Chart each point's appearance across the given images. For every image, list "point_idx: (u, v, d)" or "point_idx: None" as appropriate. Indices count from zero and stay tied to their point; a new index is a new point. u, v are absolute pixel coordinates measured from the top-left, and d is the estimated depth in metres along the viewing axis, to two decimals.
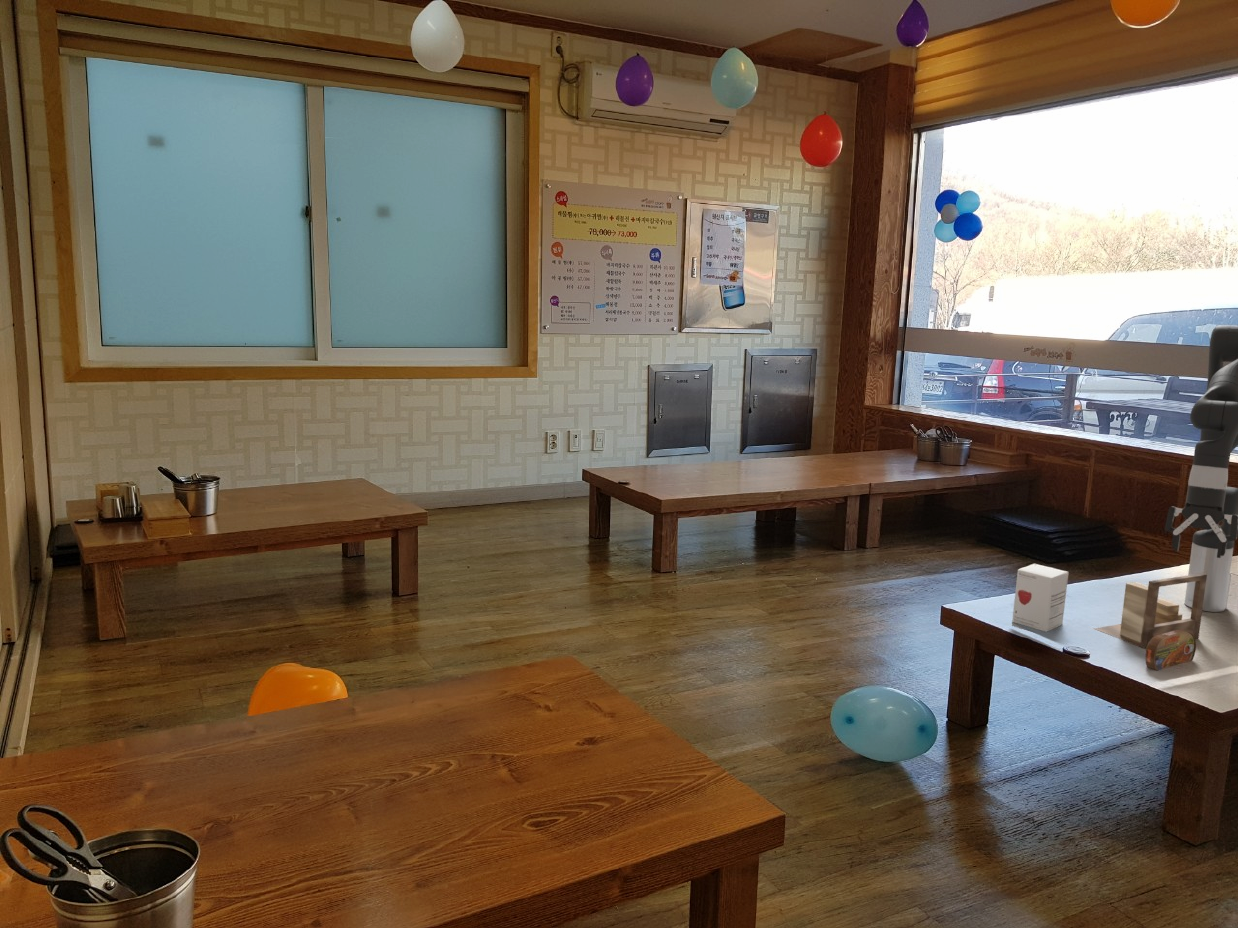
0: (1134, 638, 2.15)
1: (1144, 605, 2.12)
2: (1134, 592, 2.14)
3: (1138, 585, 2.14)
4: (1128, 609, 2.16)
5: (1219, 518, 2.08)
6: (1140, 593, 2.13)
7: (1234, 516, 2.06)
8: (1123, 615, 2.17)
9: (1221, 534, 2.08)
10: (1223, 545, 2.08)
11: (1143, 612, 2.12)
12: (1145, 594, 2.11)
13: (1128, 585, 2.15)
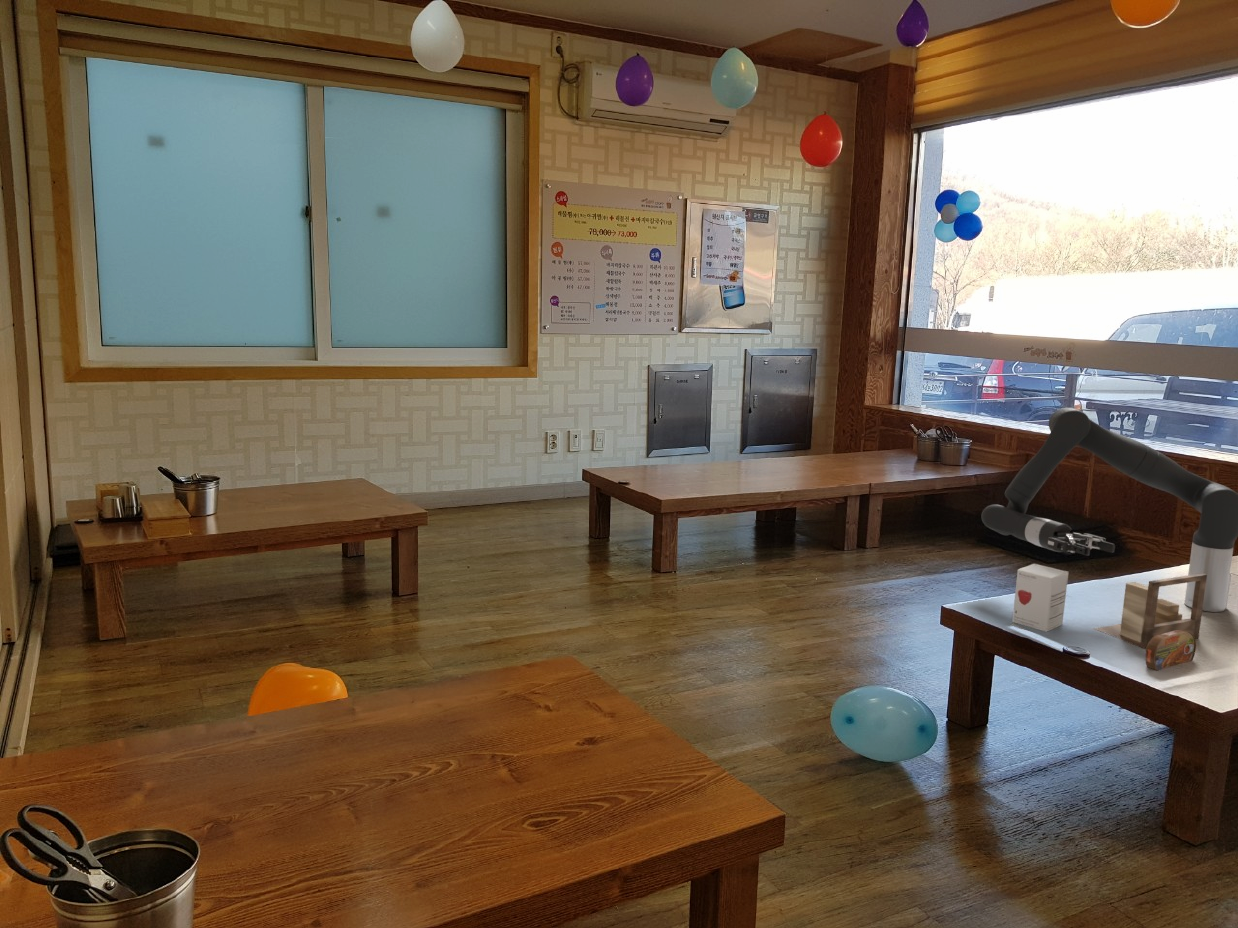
0: (1134, 638, 2.15)
1: (1144, 605, 2.12)
2: (1134, 592, 2.14)
3: (1138, 585, 2.14)
4: (1128, 609, 2.16)
5: (1060, 546, 2.31)
6: (1140, 593, 2.13)
7: None
8: (1123, 615, 2.17)
9: None
10: None
11: (1143, 612, 2.12)
12: (1145, 594, 2.11)
13: (1128, 585, 2.15)
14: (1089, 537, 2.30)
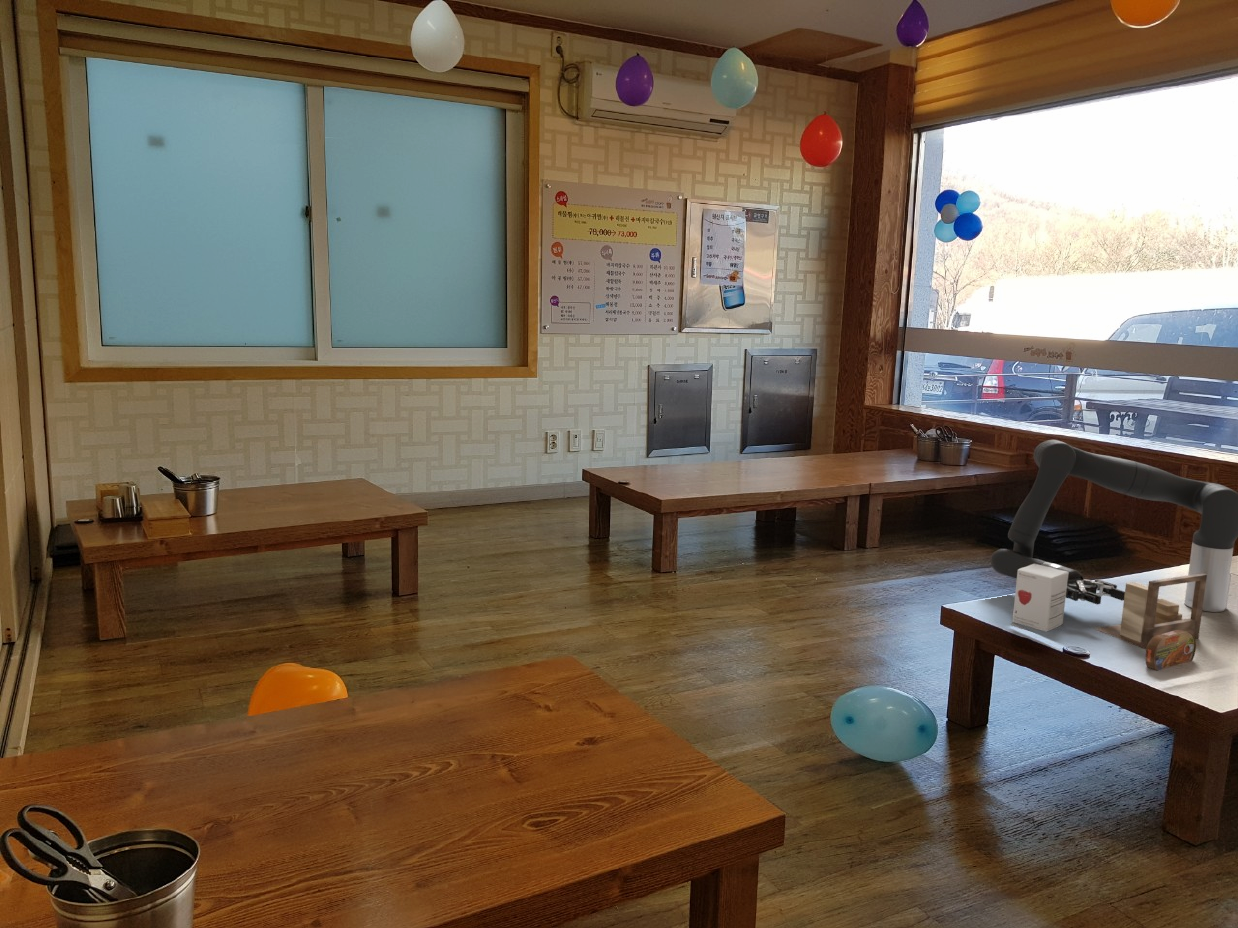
0: (1134, 638, 2.15)
1: (1144, 605, 2.12)
2: (1134, 592, 2.14)
3: (1138, 585, 2.14)
4: (1128, 609, 2.16)
5: None
6: (1140, 593, 2.13)
7: None
8: (1123, 615, 2.17)
9: None
10: None
11: (1143, 612, 2.12)
12: (1145, 594, 2.11)
13: (1128, 585, 2.15)
14: (1100, 584, 2.28)
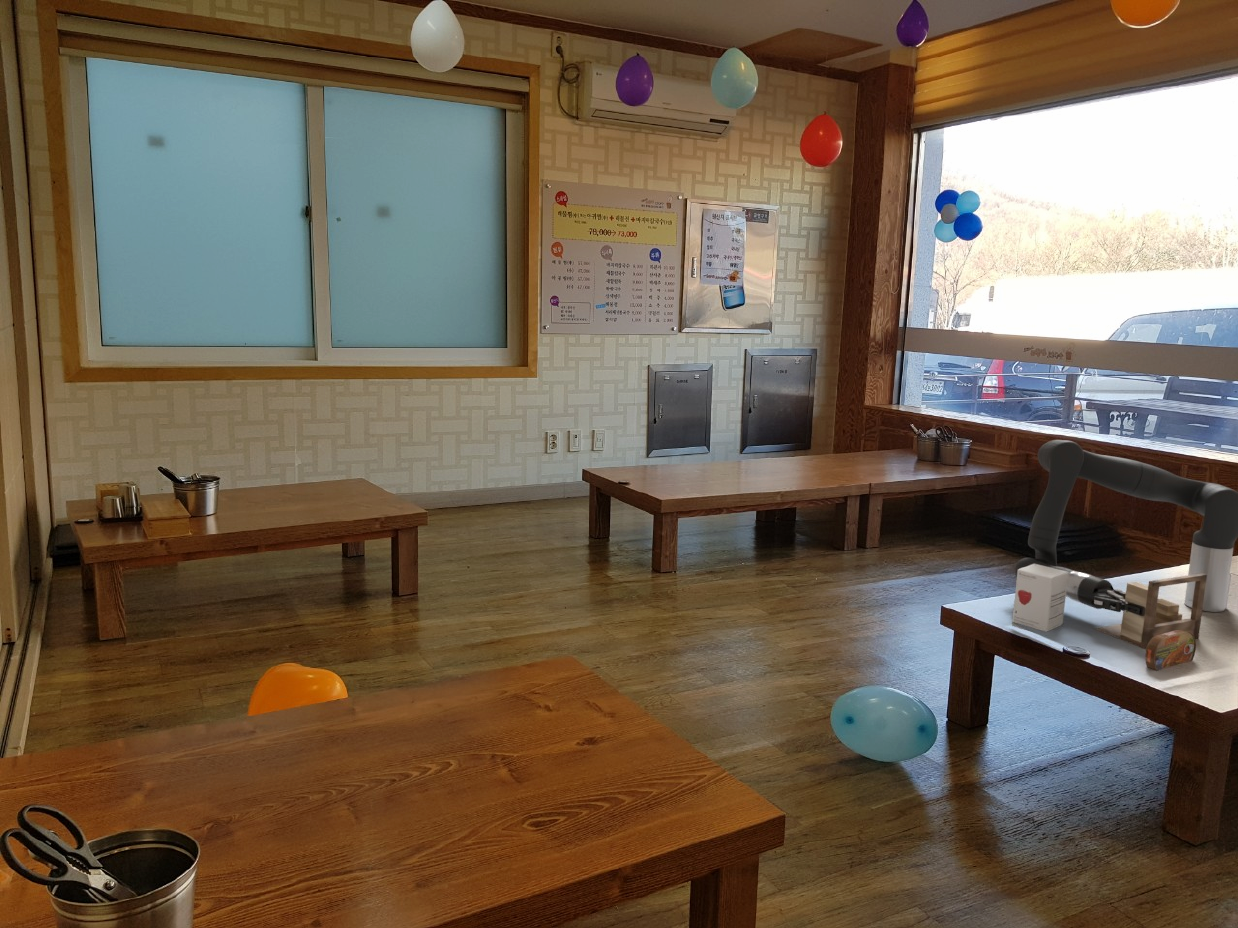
0: (1134, 638, 2.15)
1: (1145, 605, 2.12)
2: (1135, 593, 2.14)
3: (1139, 585, 2.14)
4: None
5: None
6: (1141, 593, 2.12)
7: None
8: (1124, 615, 2.17)
9: None
10: None
11: None
12: (1146, 594, 2.11)
13: (1129, 585, 2.15)
14: None
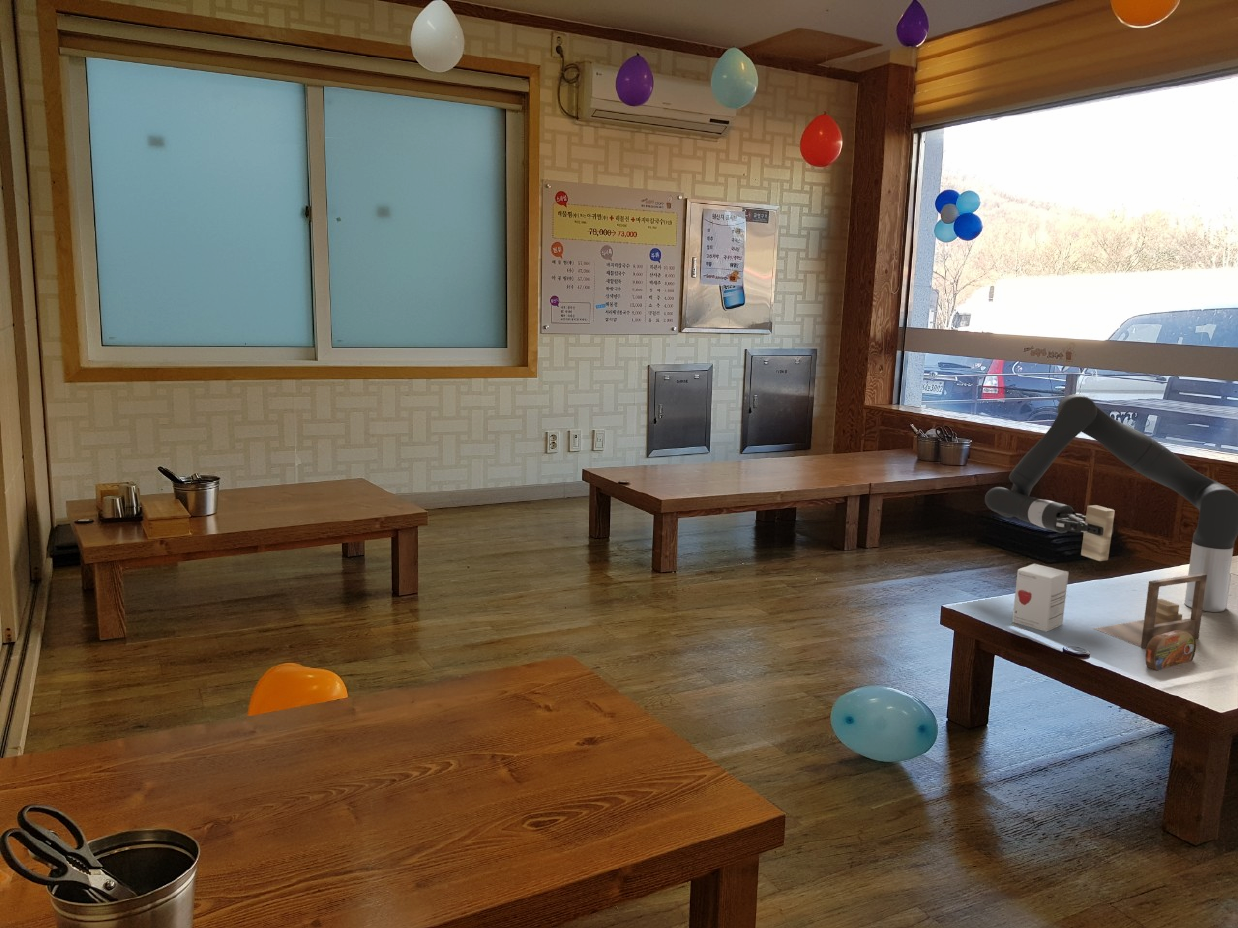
0: (1094, 557, 2.28)
1: (1103, 526, 2.25)
2: (1095, 514, 2.27)
3: (1099, 507, 2.28)
4: None
5: None
6: (1100, 514, 2.26)
7: None
8: (1084, 536, 2.31)
9: (1081, 531, 2.30)
10: None
11: None
12: (1104, 515, 2.25)
13: (1089, 508, 2.29)
14: None
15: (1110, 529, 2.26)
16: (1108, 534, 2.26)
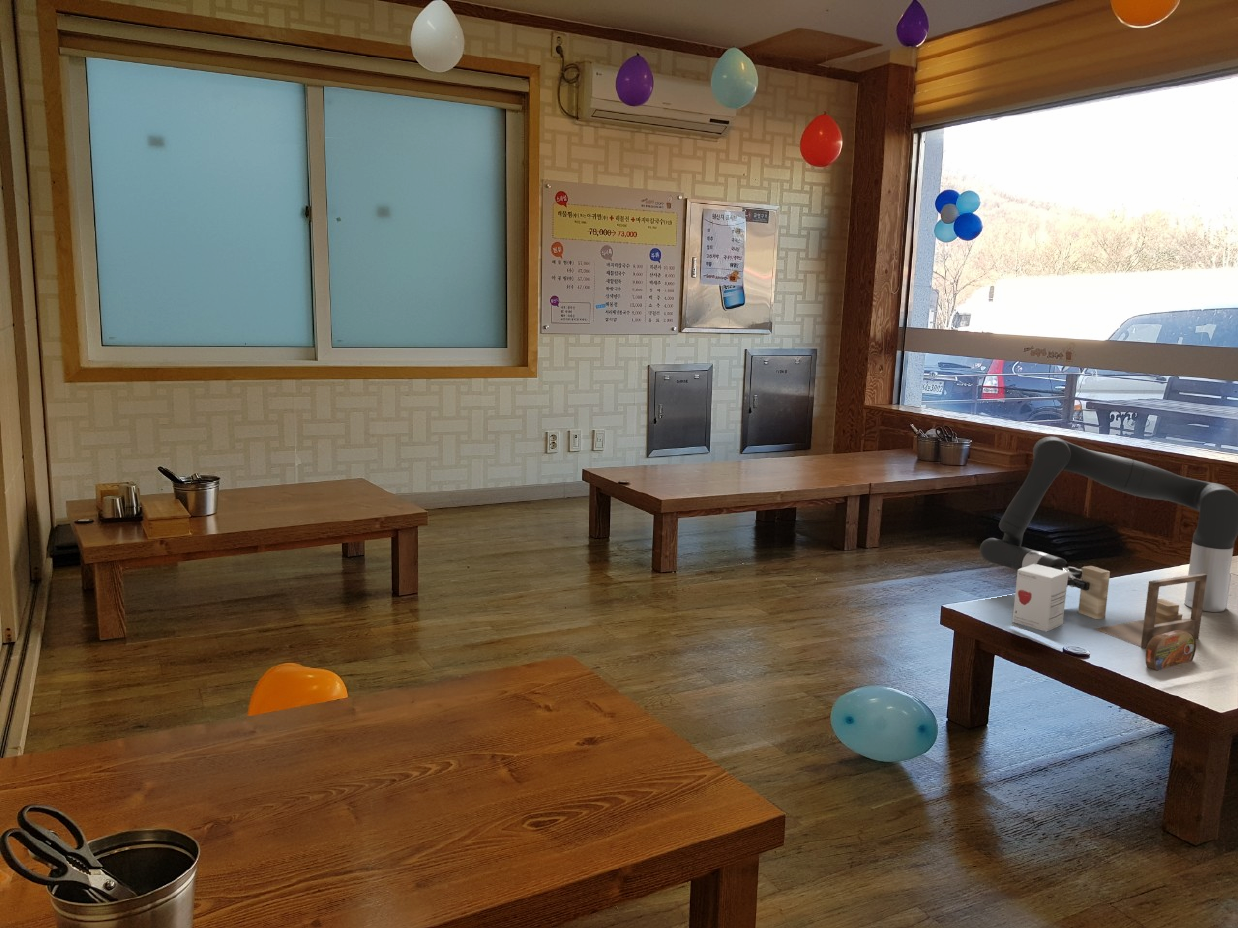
0: None
1: (1099, 587, 2.28)
2: (1090, 575, 2.30)
3: (1094, 568, 2.30)
4: (1085, 591, 2.32)
5: None
6: (1095, 575, 2.28)
7: None
8: (1080, 597, 2.33)
9: (1069, 584, 2.34)
10: None
11: (1098, 593, 2.28)
12: (1100, 577, 2.27)
13: (1085, 569, 2.31)
14: None
15: (1106, 590, 2.29)
16: (1104, 595, 2.29)
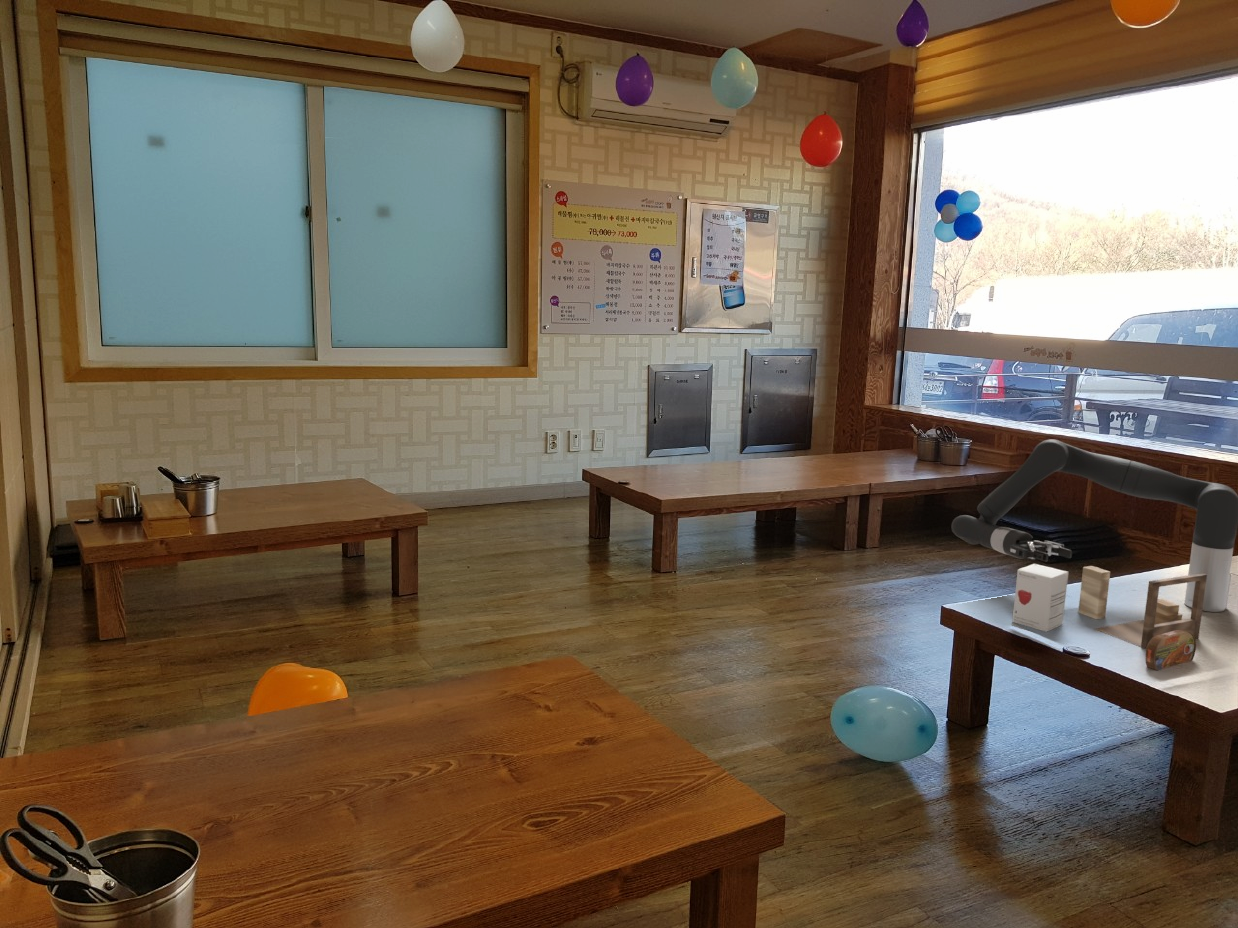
0: None
1: (1099, 587, 2.28)
2: (1091, 576, 2.30)
3: (1094, 568, 2.30)
4: (1085, 591, 2.31)
5: (1022, 553, 2.48)
6: (1096, 576, 2.28)
7: None
8: (1081, 597, 2.33)
9: None
10: None
11: (1098, 594, 2.28)
12: (1100, 577, 2.27)
13: (1085, 569, 2.31)
14: (1048, 544, 2.47)
15: (1106, 590, 2.29)
16: (1104, 595, 2.29)
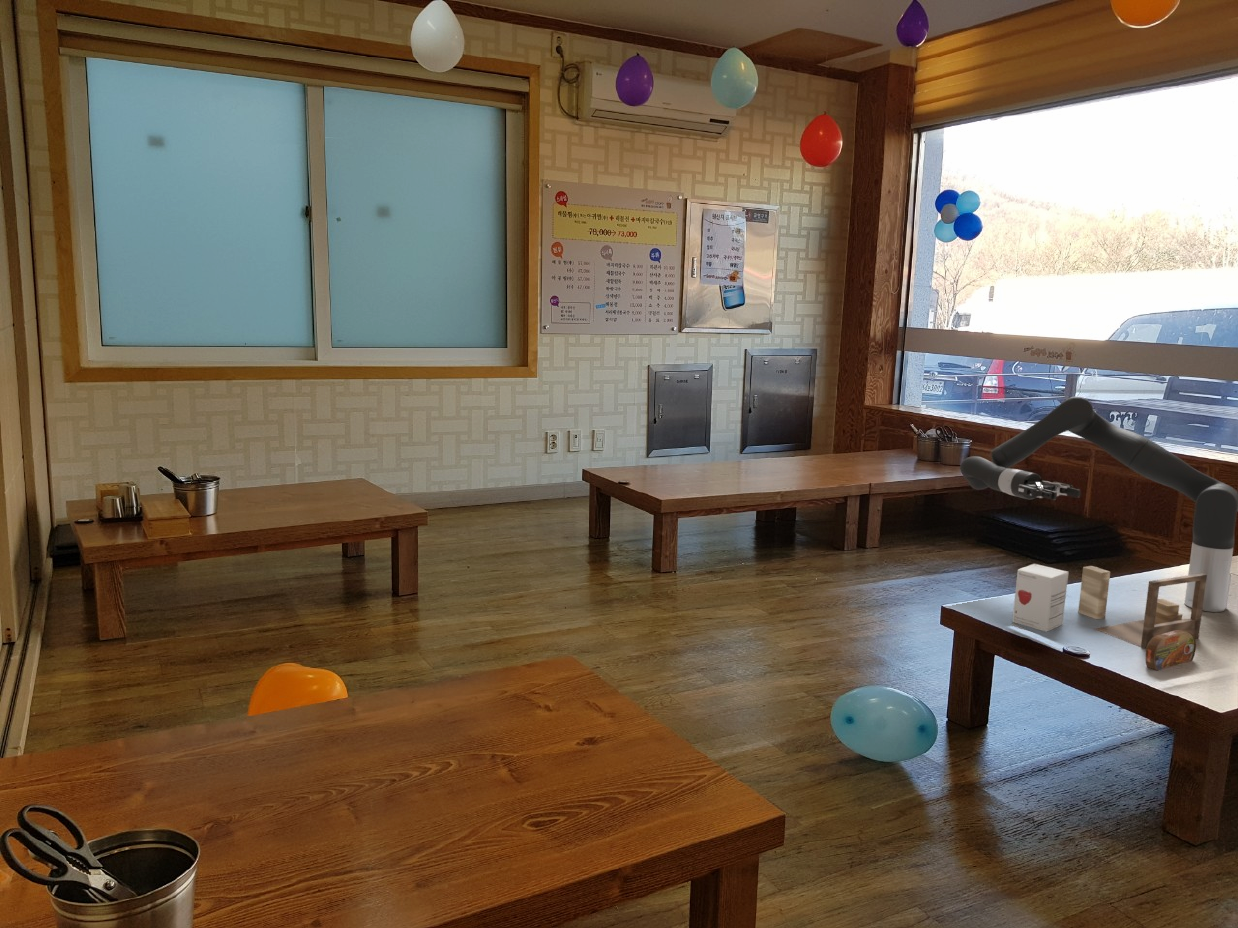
0: None
1: (1099, 587, 2.28)
2: (1091, 576, 2.30)
3: (1094, 568, 2.30)
4: (1085, 591, 2.31)
5: (1030, 493, 2.46)
6: (1096, 576, 2.28)
7: None
8: (1081, 597, 2.33)
9: None
10: None
11: (1098, 594, 2.28)
12: (1100, 577, 2.27)
13: (1085, 569, 2.31)
14: (1057, 484, 2.45)
15: (1106, 590, 2.29)
16: (1104, 595, 2.29)
